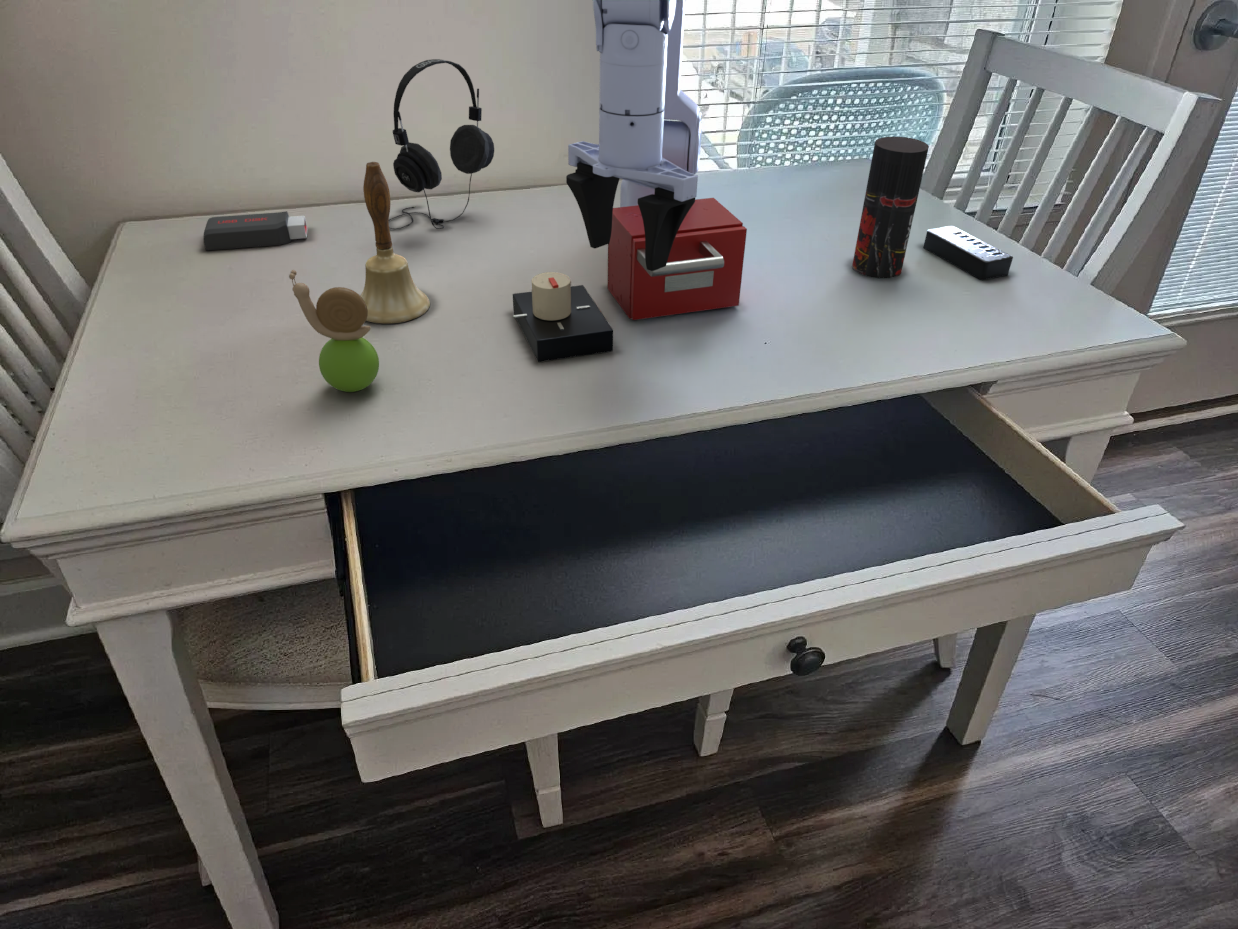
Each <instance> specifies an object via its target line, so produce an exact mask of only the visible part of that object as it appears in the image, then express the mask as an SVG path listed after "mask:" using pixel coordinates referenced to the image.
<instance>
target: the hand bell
mask: <svg viewBox="0 0 1238 929" xmlns="http://www.w3.org/2000/svg"><path fill="white" fill-rule="evenodd" d="M364 173H365V174H364V180H363V188H362V190H363V197H364V202H365V206H366V209H367V212H368V215H369V216H370V219H371V221H372V224H373V229H374V240H375V248H376V254H375V255H373V256H371V257H369V258H368V259H367V260H366V262H365V265H364V266H365V268H364V269H365V278H364V279H365V280H364V287H363V290H362V292H361V294H359V295H360V296H361V297H362V298H363V300H364V301H365V303H366V306H367V310H368V316H367V319H366V321H365V322H368V323H369V322H370V323H374V324H382V325H383V324H387V325H388V324H390V325H391V324H400V323H401V324H402V323H405V322H409V321H413V320H415V319H417V318H419V317H421V316H423V315H425V313H427V311H429V309H430V306H431V301H430V299H429V297H428V296H427V295H426V294H425V293H424V292H423V291H422V290H420V289H419V287H418V286H417V284H416V283H415V282H414V280H413V277H412V274H411V271H410V268H409V262H408V260H407V259H406V258H405V257H404V256H402V255H400V254H397V253H395V252H394V248H393V241H392V236H391V230H390V221H389V219H390V213H391V193H390V188H389V184H388V181H387V178H386V177H385V175H384V172H383V171H382V167H381V166H380V163H379V162H377V161H369V162H366V164H365V172H364Z"/></svg>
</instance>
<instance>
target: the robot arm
mask: <svg viewBox="0 0 1238 929" xmlns="http://www.w3.org/2000/svg"><path fill="white" fill-rule="evenodd" d="M592 10H593V11H592V12H593V17H594V24H595V25H594V26H595V46H596V47H595V50H596V52H599V78H598V79H599V80H598V81H599V84H598V86H599V89H598V90H599V91H598V92H599V94H598V95H599V96H598V100H599V101H598V116H599V117H598V143H594V142H588V141H585V140H581V141H577V142H573V143H570V144H567V147H568V148H567V150H568V151H567V154H568V155H567V156H568V159H567V160H568V166H570V167H574V168H576V169H575V172H572V173H568V174H567V175H566V176H565V182H566V185H567V187H568V188H569V190H570V191H571V193H572V195H573V197H574V198H575V201H576V203H577V206H578V208H579V211H580V213H581V216H582V219H583V224H584V227H585V232H586V235H587V240H588V243H589V246H590V248H592V249H598V248H601V247H604V246H608V244H609V243H610V238H611V231H612V215H613V208H614V205H615V198H616V193H617V190H618V187H619V182H620V180H621V183H620V191H619V192H620V194H619V197H620V198H619V207H628V206H637V205H639V208H640V211H641V215H642V219H643V224H644V231H645V261H646V267H647V269H648V270H650V271H655V270H657V269H660V268H662V267H665V266H666V264H667V261H668V257H669V254H670V251H671V248H672V245H673V242H674V239H675V237H676V234H677V232H678V230H679V227H680V225H681V223H682V222H683V220H684V218H685V216H686V215H687V213H688V211H689V210H690V208H691V207H692V206H693V204H694V203H695V199H696V198H697V197H698V196H697V195H698V194H697V193H698V181H699V175H698V174H697V173H698V172H699V167H700V159H701V148H702V146H701V145H702V133H703V132H702V114H703V113H702V112H701V109H700V106H699V105H698V104H697V102H695V101H694V100H693V99H691V97H689V96H688V95H687V94H686V93H685V92H684V91H683V90H682V88H681V81H682V80H681V78H682V66H683V48H684V34H685V33H684V32H685V31H684V30H685V15H686V0H592Z"/></svg>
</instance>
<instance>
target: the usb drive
mask: <svg viewBox="0 0 1238 929" xmlns="http://www.w3.org/2000/svg"><path fill="white" fill-rule="evenodd" d="M307 236H308V225H307V219H306V216H305V215H296V216H295V215H293V216H291V215H290V216H289V212H288V211H286V210H285V211H279V212H266V213H250V214H249V213H248V214H236V215H223V216H212V217H210V218H208V219H207V220H206V224H205V227H204V230H203V245H204V248H205V251H218V250H219V251H221V250H235V249H246V248H258V247H271V246H282V245H285V244H289V243H291V241H292V240H297V239H298V240H299V239H307V238H308V237H307Z"/></svg>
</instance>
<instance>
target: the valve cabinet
mask: <svg viewBox="0 0 1238 929" xmlns="http://www.w3.org/2000/svg"><path fill="white" fill-rule="evenodd" d="M742 226H744V223H743V222H742V221H741V220H740V219H739V218H738V217H737V216H735V215H734V214H733V213H732V212H731V211H730V210H729V209H728V208H726V207H725V206H724V205H723V204H721V203H720V202H719V201H718V200H717V199H716V198H715V197H707V198H695V203H694V204H693V206H692V207H691V208H690V210H689V211H688V213H687V215H686V216H685V218H684V220H683V222H682V223H681V225H680V227H679V230H678V232H677V234H680V233H689V232H698V231H706V230H715V229H724V228H733V227H742ZM636 238H645V231H644V224H643V219H642V215H641V211H640V208H639V205H637V206H628V207H620V206H619V207H613V215H612V231H611V238H610V243H609V244H607V290H608V292H609V293H610V294H611V296H612V297H613V298H614V300H615V301H616V302H617V303H618V306H620V308H621V310H623V312H624V313H625V315H626V316H627V318H628V319H630V320H632V318H631V285H632V249H633V239H636Z"/></svg>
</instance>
